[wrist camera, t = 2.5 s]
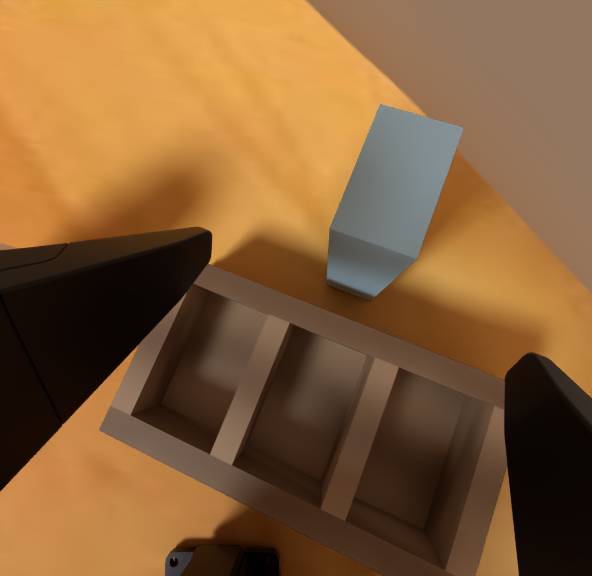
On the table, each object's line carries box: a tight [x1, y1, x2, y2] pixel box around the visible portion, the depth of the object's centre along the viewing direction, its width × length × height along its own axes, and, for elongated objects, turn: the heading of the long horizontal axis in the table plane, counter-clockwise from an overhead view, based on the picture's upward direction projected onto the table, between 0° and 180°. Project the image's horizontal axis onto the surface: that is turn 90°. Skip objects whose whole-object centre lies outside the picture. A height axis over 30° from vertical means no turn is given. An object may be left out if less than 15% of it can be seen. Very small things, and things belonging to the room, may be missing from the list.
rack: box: [99, 264, 507, 576], centre depth 17 cm, size 10×19×4 cm, turn 68°
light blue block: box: [326, 104, 464, 301], centre depth 15 cm, size 5×3×10 cm, turn 158°
